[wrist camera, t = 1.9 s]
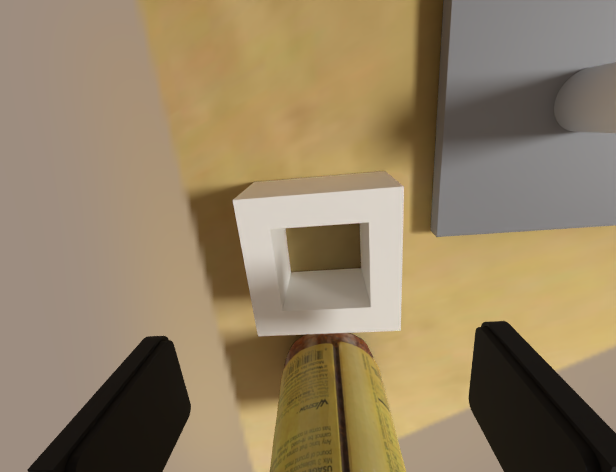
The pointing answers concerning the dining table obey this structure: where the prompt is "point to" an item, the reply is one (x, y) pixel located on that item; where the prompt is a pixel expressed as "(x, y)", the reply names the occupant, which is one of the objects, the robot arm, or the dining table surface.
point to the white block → (325, 283)
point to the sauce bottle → (333, 410)
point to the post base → (525, 117)
